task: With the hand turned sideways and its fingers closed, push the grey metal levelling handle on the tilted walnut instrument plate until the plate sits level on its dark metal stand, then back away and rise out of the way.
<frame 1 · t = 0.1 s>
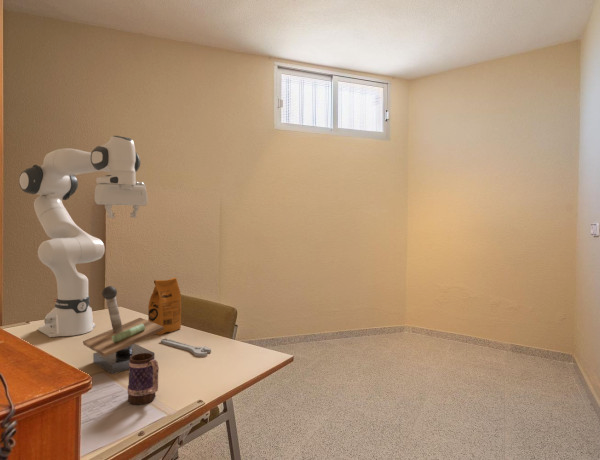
hand: (122, 217, 147), 48 cm above the table, tool pointing down, fingers open, 8 cm apart
coffee package: (164, 330, 168), on the table
adjustable wrench: (186, 349, 147), on the table
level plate: (119, 313, 130), point 17 cm above the table, hinge at 12.0°
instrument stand: (124, 361, 132), on the table
mug: (144, 401, 106), on the table
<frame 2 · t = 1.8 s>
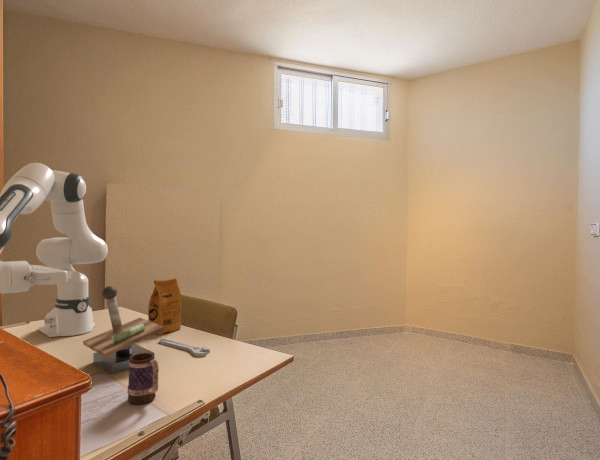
hand: (71, 272, 122), 31 cm above the table, tool horizontal, fingers open, 8 cm apart
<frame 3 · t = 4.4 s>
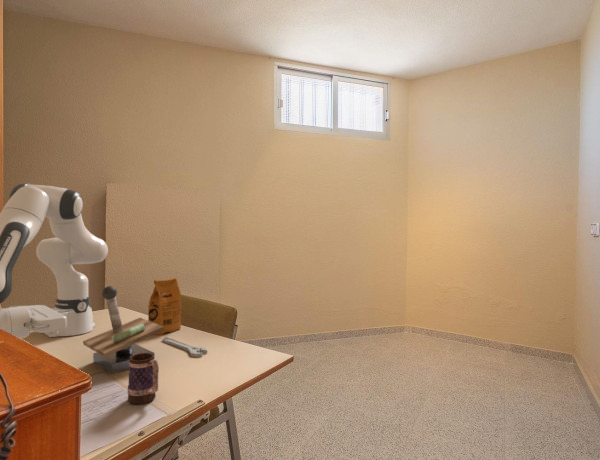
hand: (72, 313, 123), 18 cm above the table, tool horizontal, fingers closed
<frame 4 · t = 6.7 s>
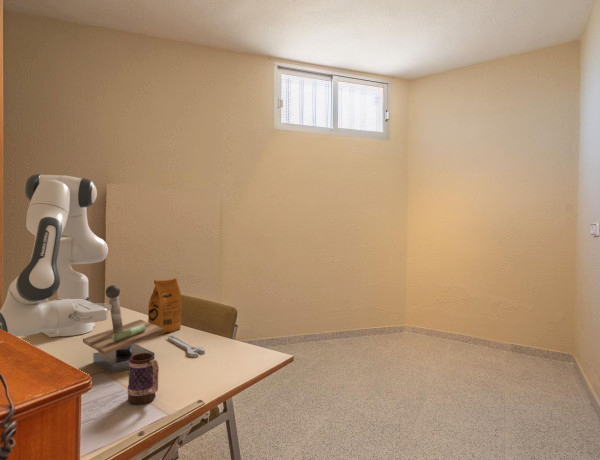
hand: (109, 306, 132), 19 cm above the table, tool horizontal, fingers closed, pressing on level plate
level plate: (120, 312, 130), point 17 cm above the table, hinge at 7.7°, touching gripper
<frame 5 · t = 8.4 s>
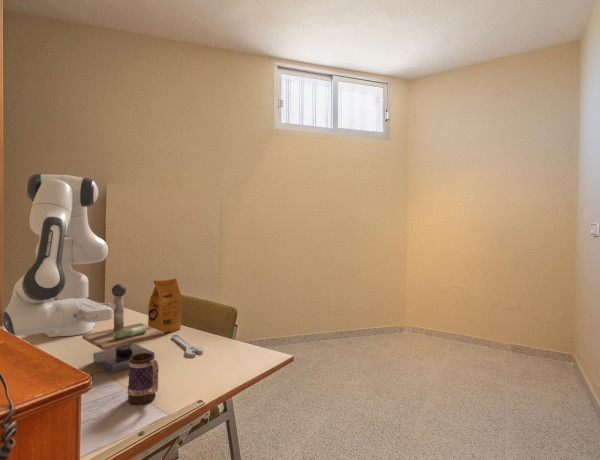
hand: (113, 305, 132), 19 cm above the table, tool horizontal, fingers closed
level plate: (124, 311, 131), point 17 cm above the table, hinge at -0.2°
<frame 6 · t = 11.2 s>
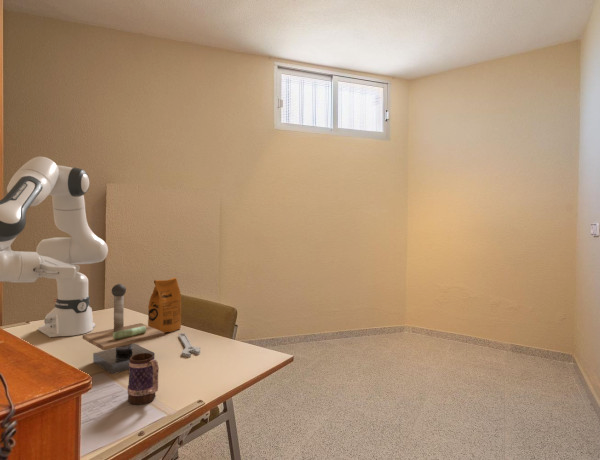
hand: (77, 267, 124), 32 cm above the table, tool horizontal, fingers closed
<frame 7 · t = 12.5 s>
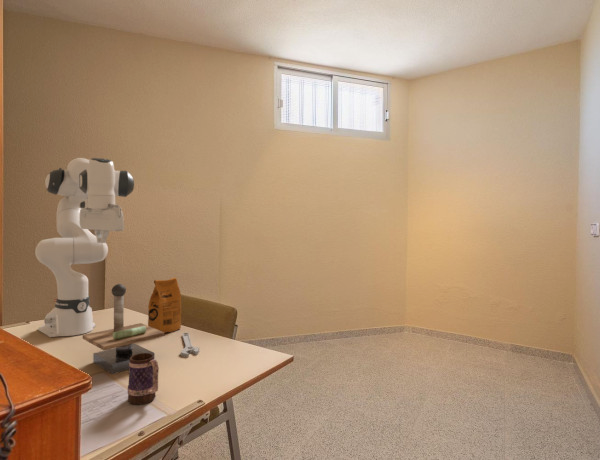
hand: (101, 242, 141), 39 cm above the table, tool pointing down, fingers closed
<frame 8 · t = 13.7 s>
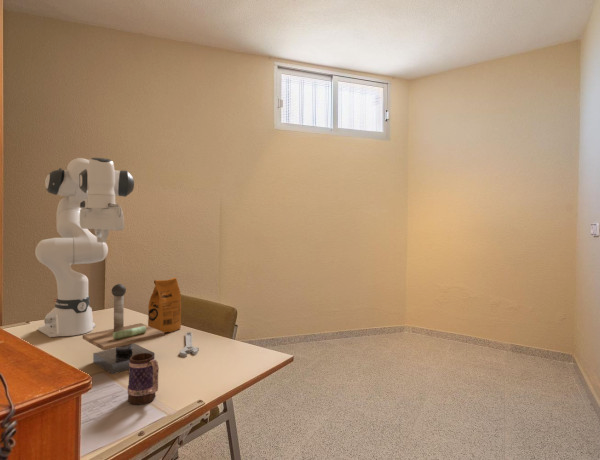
hand: (101, 242, 141), 39 cm above the table, tool pointing down, fingers closed
at the end: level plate at +0° (first picture: +12°); the gripper is holding nothing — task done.
